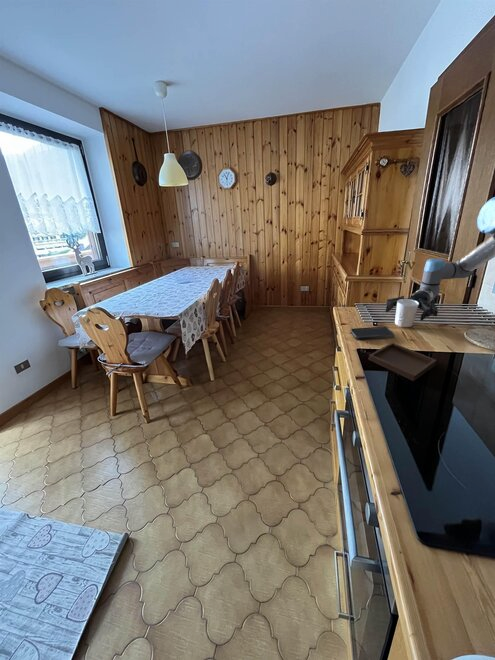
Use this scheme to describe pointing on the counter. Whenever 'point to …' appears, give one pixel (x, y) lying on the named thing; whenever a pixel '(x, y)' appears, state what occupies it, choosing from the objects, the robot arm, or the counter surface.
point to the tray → (402, 361)
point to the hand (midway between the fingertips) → (403, 313)
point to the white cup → (406, 312)
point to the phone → (372, 333)
